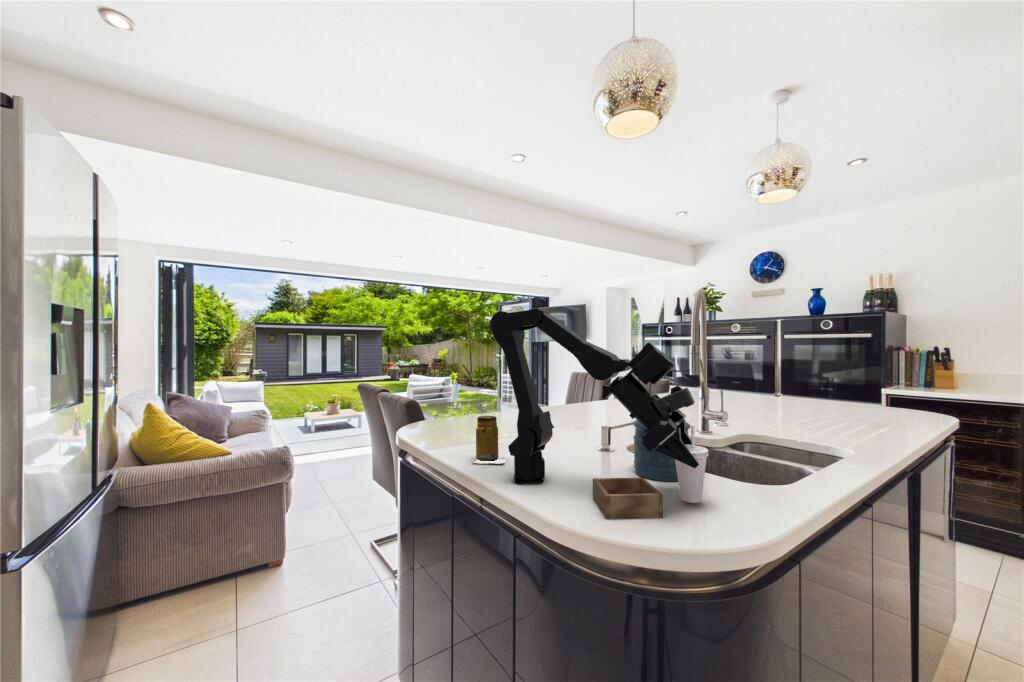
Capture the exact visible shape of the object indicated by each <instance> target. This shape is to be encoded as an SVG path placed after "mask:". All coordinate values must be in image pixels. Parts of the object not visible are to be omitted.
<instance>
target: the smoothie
mask: <svg viewBox="0 0 1024 682" xmlns="http://www.w3.org/2000/svg"><path fill="white" fill-rule="evenodd" d="M690 430H691V431H690V434H691V436H690V437H691V438H690V439H691V443H692V445H686V447H687V448H688V450H689V451H690V452H691V454H692V455H693V456H694V458H695V459H696V461H697V462H698V463H699V465H698V466H697V467H696V468H693V467H690V466H688V465H686V464H684V463H682V462H680V461H678V460H676V459H675V463H676V470H677V477H678V481H677V482H678V488H679V489H678V490H679V496H680V499H681V500H682V501H683V502H686V503H691V504H697V503H701V502H702V501H703V500H702V499H703V491H704V482H705V473H706V466H707V457H708V456H709V449H708V448H706V447H704V446H701V445H696V444H695V442H696V440H695V439H696V438H695V425H691V427H690Z"/></svg>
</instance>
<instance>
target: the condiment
mask: <svg viewBox="0 0 1024 682" xmlns="http://www.w3.org/2000/svg"><path fill="white" fill-rule="evenodd" d="M497 418H498V417H496V416H495V415H480V416H477V418H476V420H477V422H476V425H477V426H476V427H475V436H476V437H475V448H476V449H475V457H476V459H478V460H480V461H495V460H497V459H498V458H499V426H498V422H497ZM476 459H475V460H476Z"/></svg>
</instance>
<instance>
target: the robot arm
mask: <svg viewBox="0 0 1024 682" xmlns="http://www.w3.org/2000/svg"><path fill="white" fill-rule="evenodd" d="M489 328H490V331H491V334H492V335H493V337H494V340H495V341H496V343H497V344H498V346H499V347H500V348H501V350H502V351H503V355H504V358H505V362H506V367H507V369H508V374H509V377H510V381H511V386H512V389H513V393H514V397H515V398H514V399H515V402H516V405H517V409H518V414H517V420H516V427H517V428H516V429H517V437H516V438H515V439H514V440H513V441H512V442H511V443H510V444H508V448H507V449H508V451H509V454H510V456H512V457H513V464H514V465H513V467H514V469H513V470H514V473H513V481H514V484H515V485H519V484H520V485H521V484H522V485H523V484H525V485H526V484H528V485H529V484H544V482H545V481H544V479H545V478H546V461H545V458H544V457H543V453H542V451H543V450H545V449H546V446H547V444H548V443H549V442H550V441H551V439H552V437H553V435H554V434H553V429H554V428H555V426H554V424H553V422H552V420H551V419H552V418H551V417H552V416H551V413H550V411H549V410H547V411H543V410H542V408H541V406H540V405H539V401H538V398H537V395H536V394H537V393H536V391H535V387H534V384H533V379H532V376H531V371H530V368H529V365H528V361H527V356H526V352H525V350H524V343H525V336H526V335H525V333H526V332H525V331H529V330H532V329H535V328H538V329H539V330H540V331H542V332H543V333H544V334H545V335H547V336H548V337H550V338H551V339H552V340H553V341H555V342H556V343H558V345H560V346H561V347H563V348H564V349H565V350H566V351H568V352H569V353H571V354H572V355H573V356H574V357H575V358H576V359H577V361H578V362H579V364H580V366H582V367H581V368H583V369H584V370H585V371H586V372H587V373H588V375H590V377H592V378H593V379H595V380H597V381H607V380H610V379H613V380H612V382H610V383H609V385H608V384H604V385H602V386H601V389H602V395H601V398H602V399H604V400H605V399H608V398H609V397H611V396H612V395H613V396H614V397H615V398H616V400H617V401H618V402H619V403H620V404H621V405H622V406H623V407H624V408H625V409H626V410H627V411H628V412H629V413H630V414H629V415H628V416H629V417H630V418H631V419H632V420H634V419H636V420H638V421H639V423H640V424H641V425H642V426H643V427H644V428H645V429H646V430H645V431H644V432H645V434H644V435H643V436H642V444H643V445H644V446H645V447H646V448H647V449H648V450H649V452H650V451H652V450H653V449H654V448H655V447H656V446H657V445H658V446H657V447H656V448H655V450H654V451H656V452H660V453H662V454H664V455H667V456H669V457H671V458H673V459H676V460H678V461H680V462H682V463H684V464H686V465H688V466H690V467H693V468H696V467H697V466H698V465H699V463H698V462H697V461H696V459H695V458H694V456H693V455H692V454H691V452H690V451H689V450H688V448H687V447H686V445H692V443H691V438H690V436H688V435H687V433H686V431H685V422H687V421H686V419H685V418H684V416H685V415H684V414H685V413H684V412H683V413H684V414H683V413H682V411H681V410H680V409H682V408H688V407H691V406H692V405H694V404H695V400H694V398H693V396H692V393H691V391H690V389H689V388H688V387H685V388H683V387H681V386H680V384H679V385H676V386H673V387H671V388H670V394H667V395H665V396H663V397H660V396H659V395H658V394H657V393H651V392H650V391H649V390H648V389H647V388H646V387H645V386H644V385H646V386H647V385H649V383H650V384H652V385H654V386H655V385H656V384H658V383H659V382H660V381H661V379H662V378H664V377H665V376H666V375H667V374H669V372H671V370H673V369H674V367H676V366H677V364H675V362H674V361H673V359H671V358H670V357H669V356H668V355H667V354H666V352H662V351H661V350H660V349H659V348H657V347H656V346H655V345H654V344H653V343H652V342H647V343H645V345H644V346H643V347H642V349H641V350H640V351H639V352H638V353H637V354H636V355H634V357H633V358H632V359H629V358H627V359H624V358H623V359H622V358H619V357H618V356H617V355H616V354H615V353H613V352H611V351H609V350H606V349H604V348H603V347H600V346H598V345H595V344H593V343H591V342H589V341H587V340H586V339H585V338H583V337H582V336H581V335H579V334H578V333H576V332H575V331H574V330H573V329H571V328H569V327H568V326H567V325H565V324H564V323H563V322H561V321H560V320H558V319H557V318H556V317H554V315H552V314H551V313H549V311H548V310H546V309H544V308H541V307H540V308H539V307H534V308H530V309H527V310H521V311H520V310H519V311H513V312H508V311H502V310H501V311H497V312H495V313H494V314H493V315H492V317H491V318H490V320H489ZM627 371H629V372H628V373H626V374H625V375H624V376H623V377H621V376H618V375H619V373H621V372H623V373H624V372H627ZM614 378H615V379H614ZM641 382H642V383H643V384H644V385H643V384H642V383H641ZM682 418H684V420H683V421H682V422H681V423H680V424H679V423H678V421H679V420H680V419H682Z"/></svg>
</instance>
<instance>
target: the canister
mask: <svg viewBox="0 0 1024 682" xmlns="http://www.w3.org/2000/svg"><path fill="white" fill-rule="evenodd" d="M681 412H682V411H681ZM682 413H683V414H684V415H685V416H684V418H682V419H680V420H679V421H678V423H679V424H680V423H681V422H682V421H683V420H684V419H685V418H687V416H688V415H687V414H686V413H685V412H682ZM632 425H633V427H634V428H635V430H634V435H633V436H632V437H633V450H634V451H633V453H634V454H633V457H634V459H633V469H634V472H635V474H637V475H638V476H640V477H643V478H644V479H649V480H653V481H661V482H662V481H663V482H678V477H677V470H676V463H675V459H673V458H671V457H669V456H667V455H664V454H662V453H660V452H656V451H654V450H655V448H656V447H657V446H658V445H657V446H656V447H655V448H654V449H653V450H652V451H650V452H649V450H648V449H647V448H646V447H645V446H644V445H643V444H642V436H643V435H644V434H645V432H644V431H645V430H646V429H645V428H644V427H643V426H642V425H641V424H640V423H639V421H638V420H637V419H636V420H634V421H633V422H632ZM691 426H692V425H691V424H690V423H688V421H686V422H685V431H686V433H687V435H688V436H689V431H690V429H691ZM689 437H690V436H689Z"/></svg>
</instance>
